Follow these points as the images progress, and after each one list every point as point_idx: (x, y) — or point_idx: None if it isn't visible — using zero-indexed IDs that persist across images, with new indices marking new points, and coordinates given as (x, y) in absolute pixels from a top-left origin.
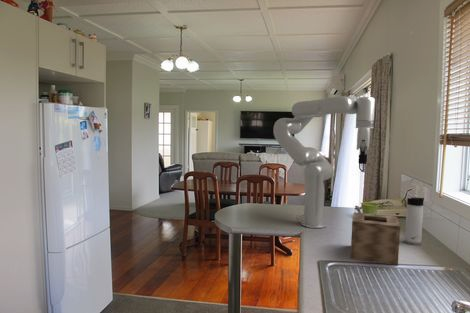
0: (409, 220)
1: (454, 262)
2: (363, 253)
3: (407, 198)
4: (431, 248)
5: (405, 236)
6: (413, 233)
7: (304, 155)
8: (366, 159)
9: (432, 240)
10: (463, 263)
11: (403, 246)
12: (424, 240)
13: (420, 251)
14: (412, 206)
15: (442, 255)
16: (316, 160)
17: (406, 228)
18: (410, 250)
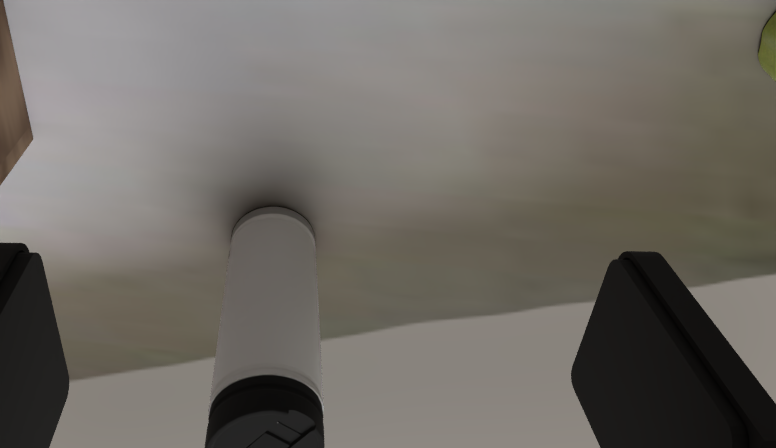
0: (230, 306)
1: None
2: None
3: (267, 409)
4: (208, 303)
5: (264, 224)
6: (226, 275)
7: None
8: (595, 429)
9: (364, 322)
10: None
11: (168, 189)
12: (348, 292)
13: (119, 255)
14: (214, 392)
15: (111, 329)
16: None
17: (253, 257)
18: (107, 214)
